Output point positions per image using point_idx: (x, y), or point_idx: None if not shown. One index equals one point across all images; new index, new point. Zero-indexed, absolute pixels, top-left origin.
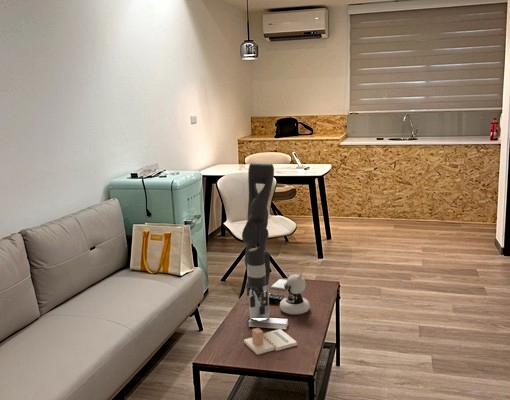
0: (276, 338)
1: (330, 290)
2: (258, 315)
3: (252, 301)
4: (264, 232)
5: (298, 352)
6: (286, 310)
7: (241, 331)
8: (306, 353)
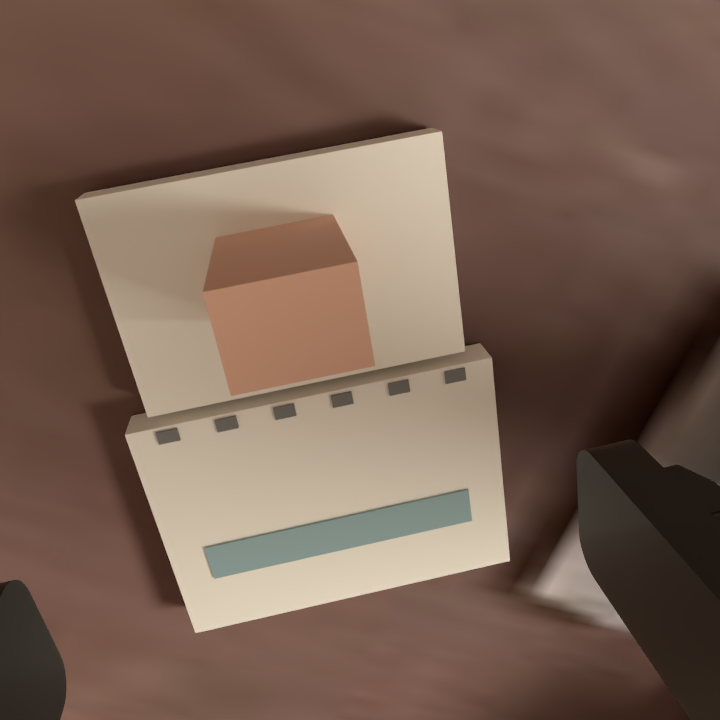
0: (330, 484)
1: None
2: None
3: (682, 623)
4: None
5: (53, 590)
6: None
7: (703, 179)
8: None
